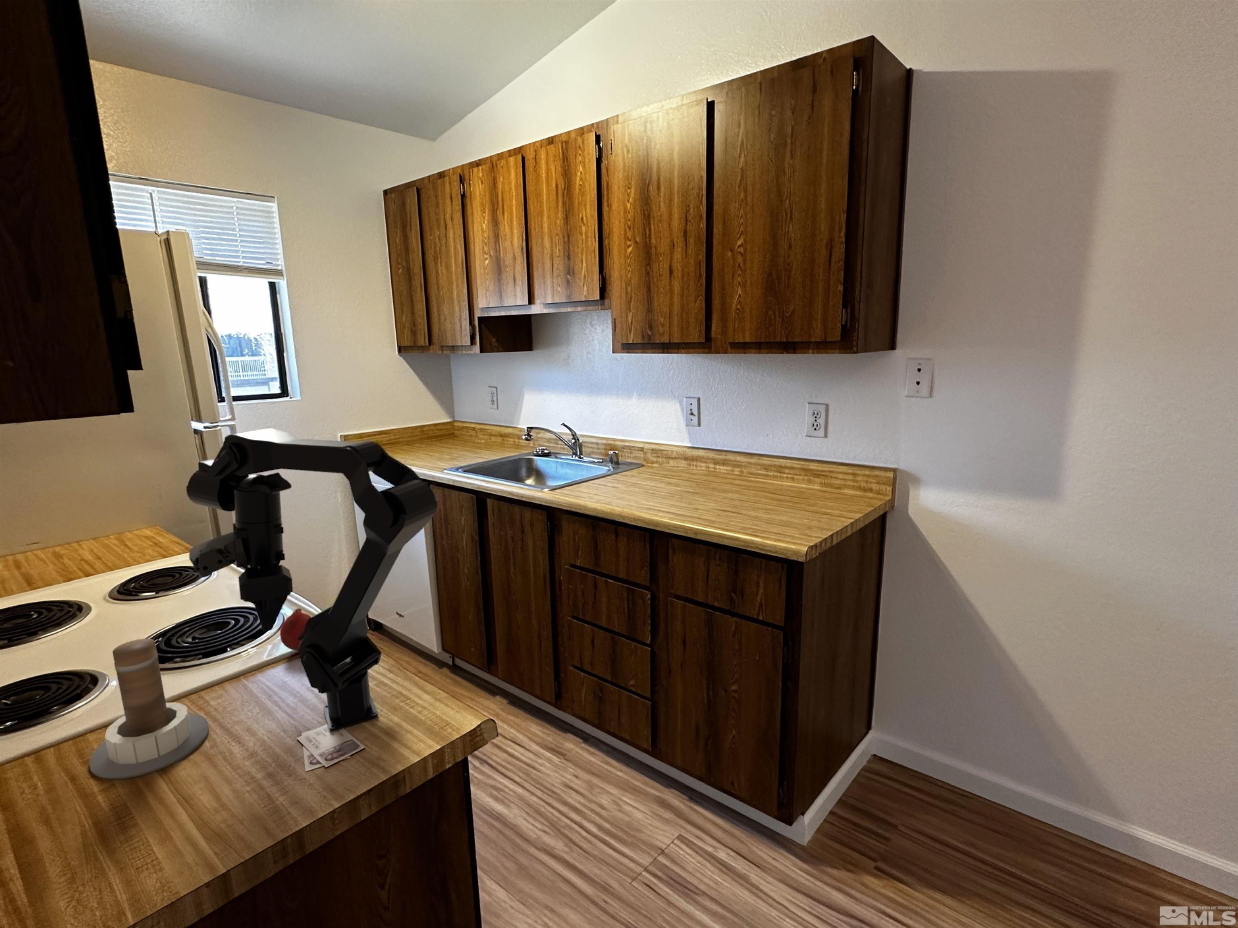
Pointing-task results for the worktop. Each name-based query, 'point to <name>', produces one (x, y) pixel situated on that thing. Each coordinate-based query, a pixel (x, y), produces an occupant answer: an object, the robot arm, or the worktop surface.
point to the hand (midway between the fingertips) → (264, 615)
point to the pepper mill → (141, 686)
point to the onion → (293, 629)
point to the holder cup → (148, 745)
